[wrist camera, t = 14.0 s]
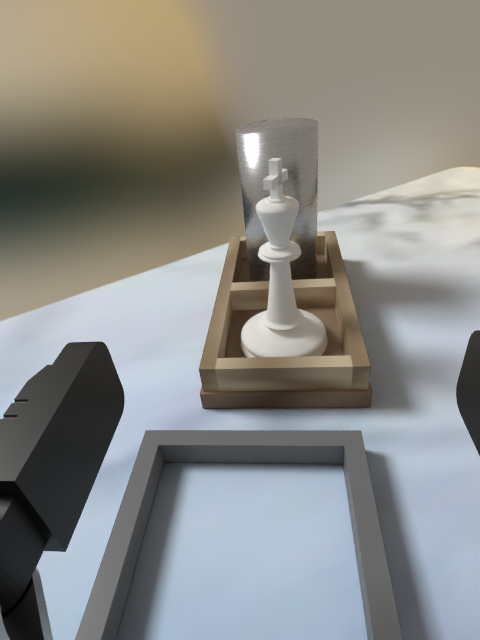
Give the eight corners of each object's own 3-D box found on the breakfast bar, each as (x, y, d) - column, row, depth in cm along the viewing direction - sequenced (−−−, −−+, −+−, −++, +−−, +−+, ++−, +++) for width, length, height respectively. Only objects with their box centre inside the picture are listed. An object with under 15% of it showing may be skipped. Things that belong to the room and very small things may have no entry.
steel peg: (314, 259, 31) (315, 115, 26) (318, 292, 27) (321, 130, 22) (251, 262, 32) (239, 122, 26) (247, 294, 28) (231, 138, 22)
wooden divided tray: (335, 258, 33) (336, 229, 32) (370, 406, 20) (374, 368, 19) (232, 264, 34) (229, 236, 33) (202, 408, 21) (195, 372, 20)
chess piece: (338, 326, 24) (348, 146, 18) (308, 380, 21) (307, 179, 15) (263, 310, 26) (250, 144, 21) (224, 356, 23) (196, 173, 17)
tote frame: (359, 448, 18) (361, 430, 18) (417, 761, 10) (424, 751, 10) (151, 447, 19) (145, 430, 19) (64, 727, 12) (49, 716, 11)
